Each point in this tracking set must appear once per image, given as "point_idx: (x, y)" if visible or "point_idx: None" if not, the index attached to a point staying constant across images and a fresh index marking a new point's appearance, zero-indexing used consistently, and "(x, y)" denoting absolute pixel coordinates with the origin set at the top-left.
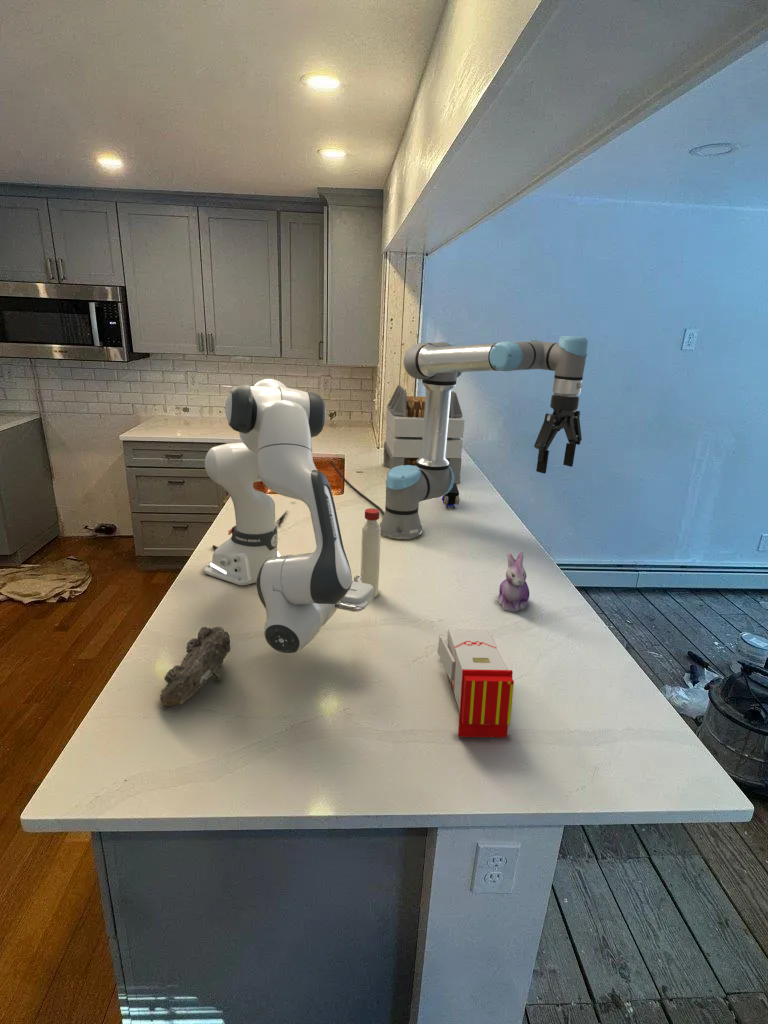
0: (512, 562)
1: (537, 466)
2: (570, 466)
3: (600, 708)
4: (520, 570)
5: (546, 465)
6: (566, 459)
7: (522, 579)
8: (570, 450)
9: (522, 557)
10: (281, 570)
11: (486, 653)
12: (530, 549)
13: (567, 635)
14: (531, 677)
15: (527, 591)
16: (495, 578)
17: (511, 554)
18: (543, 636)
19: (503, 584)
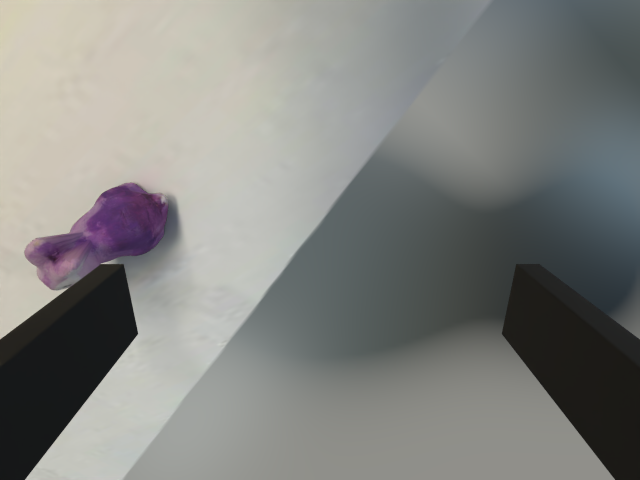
0: (34, 264)
1: (74, 291)
2: (504, 328)
3: None
4: (50, 285)
5: (95, 379)
6: (540, 316)
7: (59, 289)
8: (608, 417)
9: (62, 277)
10: None
11: None
12: (442, 37)
13: (145, 340)
14: None
15: (134, 255)
16: (191, 108)
17: (36, 252)
18: None
19: (87, 213)
